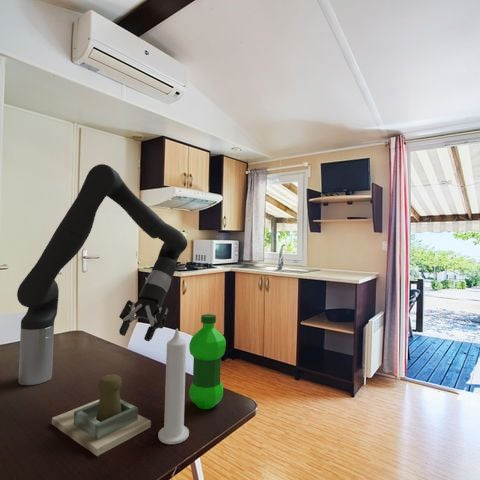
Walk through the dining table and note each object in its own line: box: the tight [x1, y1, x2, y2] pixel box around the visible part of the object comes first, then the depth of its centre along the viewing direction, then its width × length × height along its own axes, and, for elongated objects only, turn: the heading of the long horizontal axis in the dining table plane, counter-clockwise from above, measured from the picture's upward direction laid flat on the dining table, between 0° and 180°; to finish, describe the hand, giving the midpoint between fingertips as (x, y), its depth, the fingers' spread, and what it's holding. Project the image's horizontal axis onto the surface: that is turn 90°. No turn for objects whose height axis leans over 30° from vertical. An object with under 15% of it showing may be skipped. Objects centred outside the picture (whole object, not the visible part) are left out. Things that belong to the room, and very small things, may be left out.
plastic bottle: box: [188, 313, 227, 410], centre depth 91 cm, size 10×10×25 cm
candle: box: [157, 328, 190, 445], centre depth 76 cm, size 7×7×25 cm
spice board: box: [51, 398, 152, 457], centre depth 79 cm, size 20×14×4 cm
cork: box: [96, 373, 123, 422], centre depth 78 cm, size 6×6×11 cm
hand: (134, 337), depth 94 cm, fingers open, 8 cm apart
